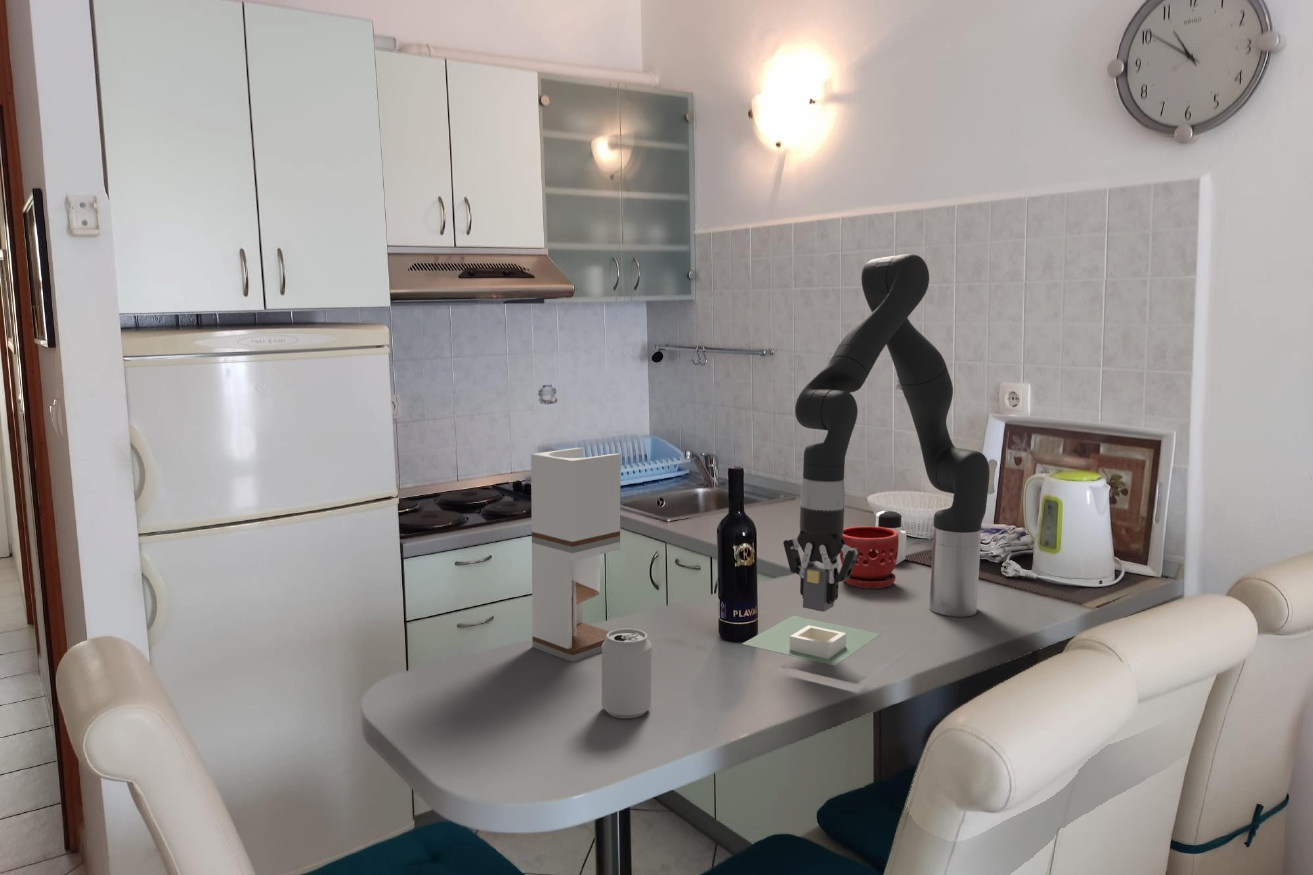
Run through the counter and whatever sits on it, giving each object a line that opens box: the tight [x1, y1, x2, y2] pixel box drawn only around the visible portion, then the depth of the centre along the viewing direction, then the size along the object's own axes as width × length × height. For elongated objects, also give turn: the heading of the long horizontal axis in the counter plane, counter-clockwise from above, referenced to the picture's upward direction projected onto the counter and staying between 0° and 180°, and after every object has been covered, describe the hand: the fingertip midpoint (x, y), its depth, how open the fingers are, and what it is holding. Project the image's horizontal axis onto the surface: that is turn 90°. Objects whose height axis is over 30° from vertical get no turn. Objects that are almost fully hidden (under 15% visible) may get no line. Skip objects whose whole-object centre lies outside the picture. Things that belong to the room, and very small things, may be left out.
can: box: [601, 628, 653, 719], centre depth 145 cm, size 8×8×12 cm
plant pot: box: [839, 525, 899, 590], centre depth 215 cm, size 13×13×12 cm
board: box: [741, 615, 881, 667], centre depth 175 cm, size 20×18×4 cm
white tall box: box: [530, 447, 622, 663], centre depth 171 cm, size 11×11×35 cm
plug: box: [802, 563, 835, 613], centre depth 168 cm, size 5×4×7 cm
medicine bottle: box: [870, 510, 907, 566], centre depth 235 cm, size 7×7×12 cm
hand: (818, 599), depth 169 cm, fingers closed on plug, 4 cm apart
